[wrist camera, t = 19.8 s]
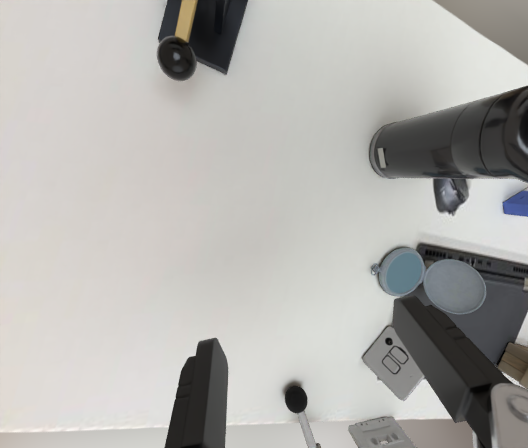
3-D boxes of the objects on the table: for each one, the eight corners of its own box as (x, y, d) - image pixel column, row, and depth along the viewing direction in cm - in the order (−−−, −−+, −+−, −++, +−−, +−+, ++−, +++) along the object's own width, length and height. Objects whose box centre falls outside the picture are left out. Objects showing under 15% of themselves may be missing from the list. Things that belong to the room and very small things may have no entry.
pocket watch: (477, 326, 40) (407, 324, 36) (420, 295, 51) (361, 291, 47) (496, 270, 39) (426, 261, 35) (434, 250, 49) (374, 242, 45)
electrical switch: (388, 323, 50) (430, 357, 41) (399, 333, 52) (442, 367, 43) (359, 358, 50) (396, 399, 41) (372, 366, 52) (410, 407, 43)
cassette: (393, 414, 56) (421, 450, 48) (391, 421, 56) (419, 458, 49) (348, 424, 53) (371, 463, 45) (346, 431, 53) (370, 471, 46)
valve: (298, 373, 58) (318, 376, 46) (335, 477, 50) (373, 518, 37) (259, 390, 56) (268, 399, 43) (291, 505, 47) (315, 559, 34)
